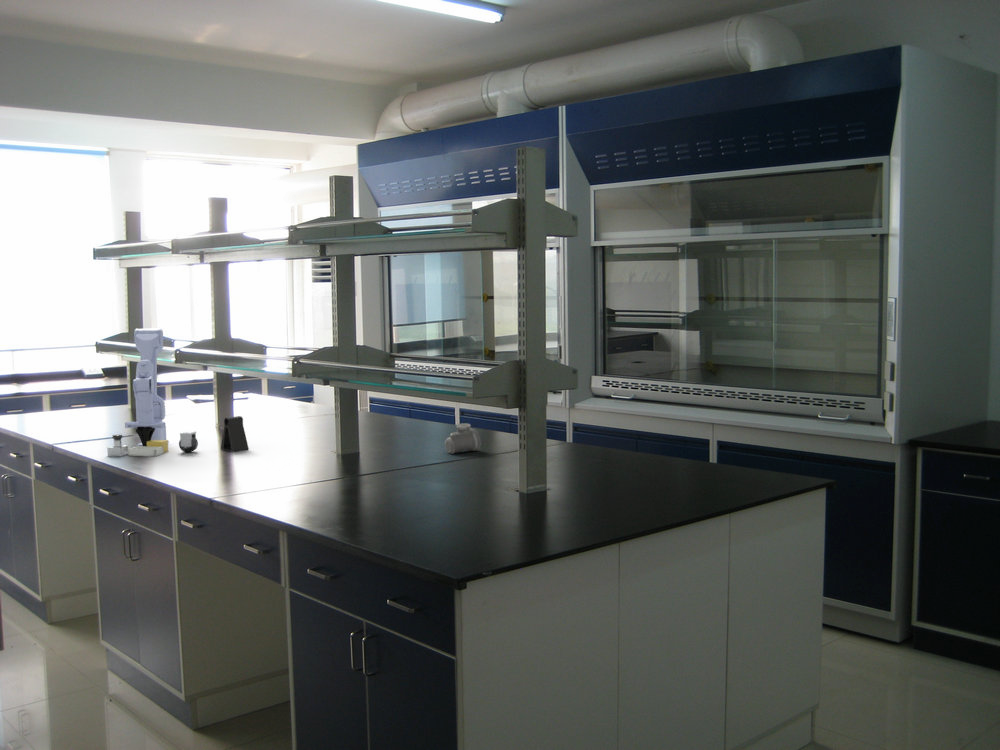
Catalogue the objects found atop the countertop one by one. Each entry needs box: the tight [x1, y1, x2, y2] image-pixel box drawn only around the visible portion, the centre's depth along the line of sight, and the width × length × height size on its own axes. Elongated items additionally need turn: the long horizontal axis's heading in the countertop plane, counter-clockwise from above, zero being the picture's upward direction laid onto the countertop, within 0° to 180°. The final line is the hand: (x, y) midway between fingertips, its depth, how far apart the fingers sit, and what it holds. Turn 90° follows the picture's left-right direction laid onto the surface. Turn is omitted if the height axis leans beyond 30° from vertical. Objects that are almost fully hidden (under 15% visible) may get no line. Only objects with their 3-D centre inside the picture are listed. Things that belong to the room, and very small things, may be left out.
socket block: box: [107, 444, 129, 457], centre depth 320 cm, size 5×5×3 cm
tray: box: [128, 445, 165, 457], centre depth 320 cm, size 6×10×2 cm, turn 83°
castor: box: [178, 430, 199, 454], centre depth 324 cm, size 4×6×7 cm
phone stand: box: [220, 415, 250, 453], centre depth 328 cm, size 9×6×12 cm, turn 49°
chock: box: [147, 439, 169, 453], centre depth 325 cm, size 4×6×4 cm, turn 83°
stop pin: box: [112, 434, 123, 447], centre depth 320 cm, size 3×3×7 cm
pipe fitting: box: [444, 422, 482, 455], centre depth 320 cm, size 12×8×10 cm, turn 126°
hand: (146, 447), depth 326 cm, fingers closed
